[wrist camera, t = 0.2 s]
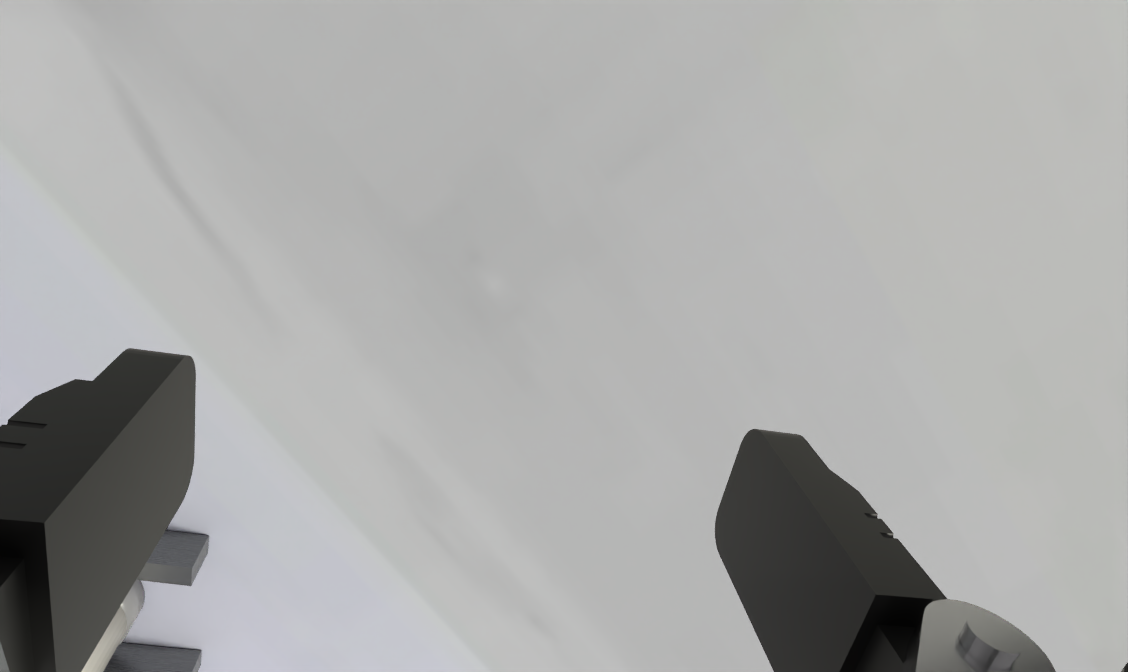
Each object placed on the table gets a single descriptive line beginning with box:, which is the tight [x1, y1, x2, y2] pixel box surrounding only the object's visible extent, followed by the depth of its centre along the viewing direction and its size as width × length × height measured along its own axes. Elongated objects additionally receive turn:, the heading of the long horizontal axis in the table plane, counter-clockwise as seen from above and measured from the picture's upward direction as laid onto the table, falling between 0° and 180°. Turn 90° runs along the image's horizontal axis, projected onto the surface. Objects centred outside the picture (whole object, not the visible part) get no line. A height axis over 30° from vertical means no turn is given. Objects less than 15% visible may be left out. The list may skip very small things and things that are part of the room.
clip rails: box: [103, 530, 209, 672], centre depth 31 cm, size 8×10×3 cm
